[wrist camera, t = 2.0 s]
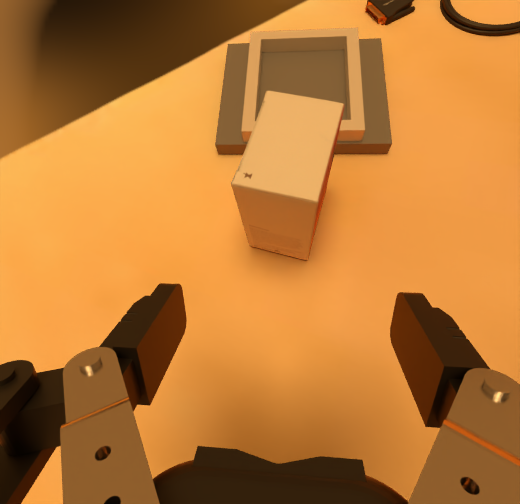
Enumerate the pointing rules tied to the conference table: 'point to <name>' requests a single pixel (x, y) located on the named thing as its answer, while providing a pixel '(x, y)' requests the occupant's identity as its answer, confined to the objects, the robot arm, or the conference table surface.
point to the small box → (287, 171)
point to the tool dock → (307, 84)
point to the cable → (399, 4)
